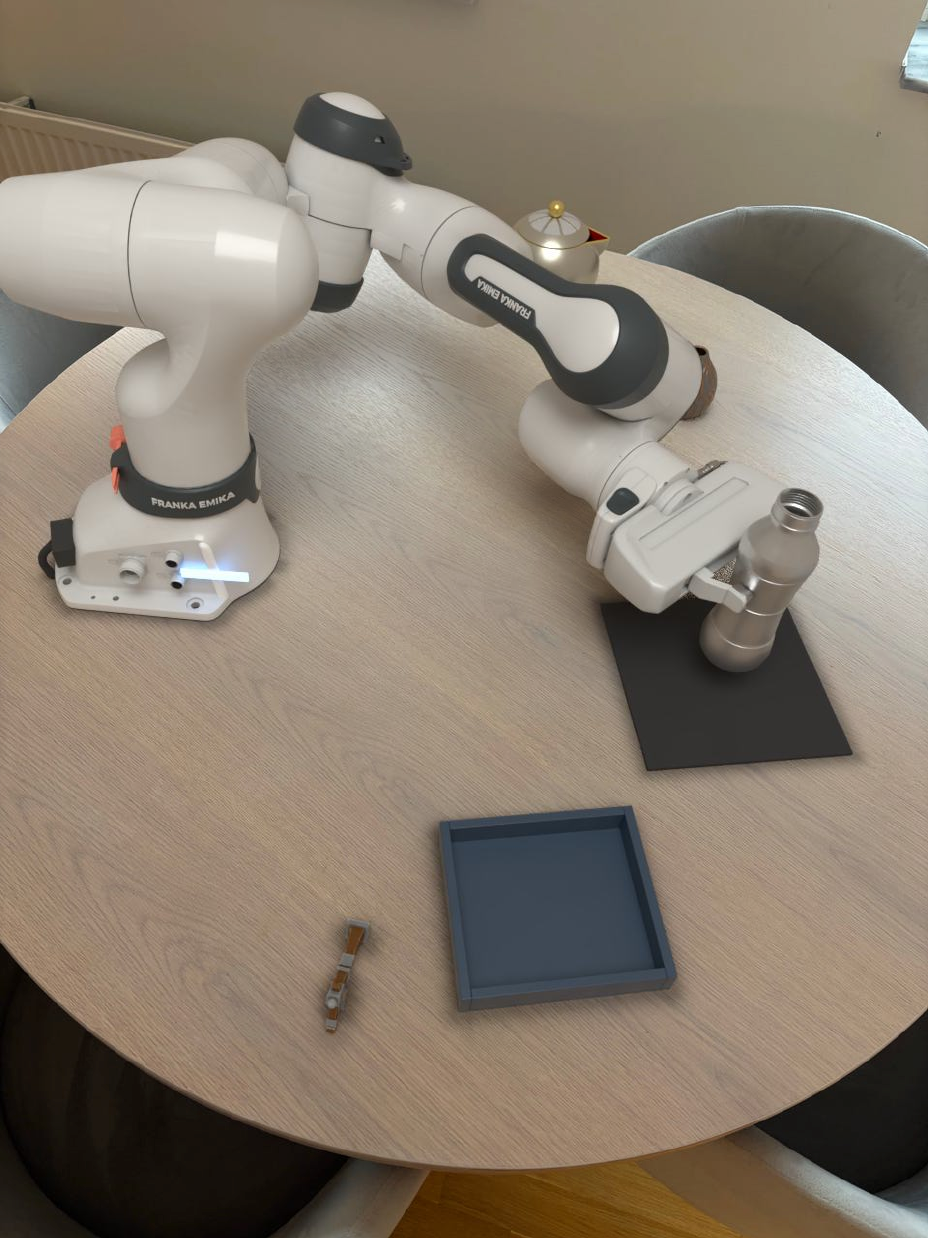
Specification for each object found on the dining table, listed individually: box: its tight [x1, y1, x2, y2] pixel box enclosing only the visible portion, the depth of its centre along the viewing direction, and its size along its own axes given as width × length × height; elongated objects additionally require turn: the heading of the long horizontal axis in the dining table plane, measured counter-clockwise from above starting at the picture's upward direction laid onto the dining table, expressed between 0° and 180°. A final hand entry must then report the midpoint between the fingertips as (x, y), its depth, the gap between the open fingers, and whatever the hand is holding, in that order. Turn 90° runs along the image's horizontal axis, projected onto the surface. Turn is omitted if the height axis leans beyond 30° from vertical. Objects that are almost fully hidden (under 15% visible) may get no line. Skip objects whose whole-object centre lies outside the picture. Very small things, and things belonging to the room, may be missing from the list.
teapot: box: [510, 199, 611, 284], centre depth 127 cm, size 18×14×16 cm
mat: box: [599, 597, 854, 772], centre depth 94 cm, size 20×20×1 cm
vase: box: [681, 344, 718, 420], centre depth 118 cm, size 7×7×9 cm
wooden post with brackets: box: [325, 917, 371, 1035], centre depth 71 cm, size 2×8×4 cm, turn 169°
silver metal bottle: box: [699, 487, 825, 672], centre depth 84 cm, size 6×7×20 cm
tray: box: [437, 805, 678, 1013], centre depth 76 cm, size 17×15×3 cm
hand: (771, 585), depth 83 cm, fingers closed on silver metal bottle, 6 cm apart
